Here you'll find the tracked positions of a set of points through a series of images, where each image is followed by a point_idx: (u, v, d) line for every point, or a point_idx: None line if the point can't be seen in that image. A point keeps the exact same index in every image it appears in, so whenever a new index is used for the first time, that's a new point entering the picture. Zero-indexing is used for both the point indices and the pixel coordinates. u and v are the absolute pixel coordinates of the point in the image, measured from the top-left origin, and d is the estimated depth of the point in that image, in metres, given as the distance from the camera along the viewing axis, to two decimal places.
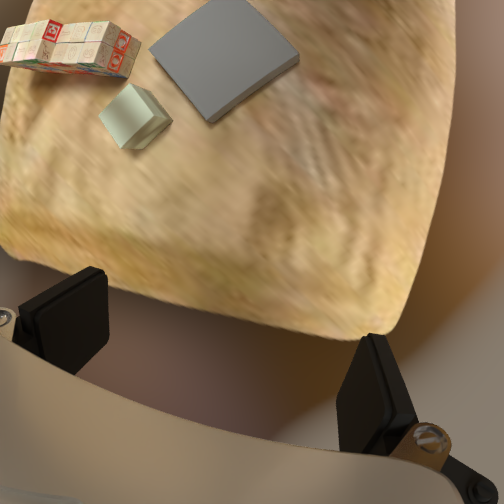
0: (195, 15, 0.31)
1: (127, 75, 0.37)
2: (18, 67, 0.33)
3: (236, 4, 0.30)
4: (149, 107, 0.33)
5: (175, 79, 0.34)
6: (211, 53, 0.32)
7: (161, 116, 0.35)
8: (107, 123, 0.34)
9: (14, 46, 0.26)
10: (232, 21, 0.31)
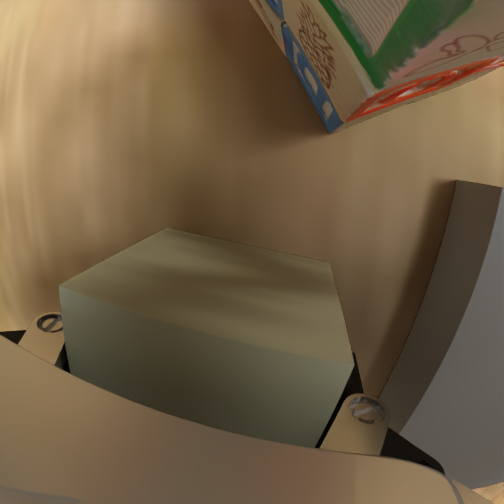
0: None
1: None
2: None
3: None
4: None
5: (429, 394, 0.08)
6: None
7: None
8: (81, 363, 0.06)
9: None
10: None
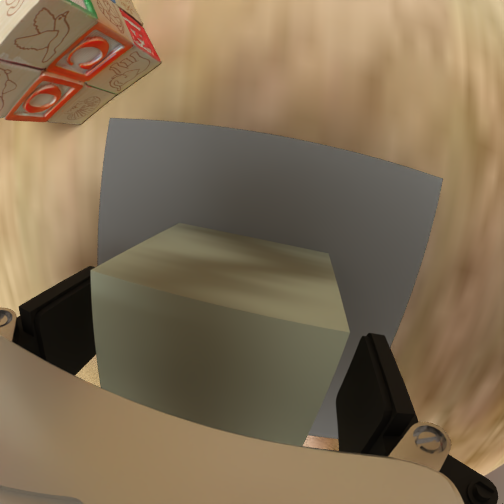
0: (286, 154, 0.11)
1: (79, 121, 0.14)
2: None
3: (396, 248, 0.11)
4: None
5: None
6: None
7: None
8: (107, 342, 0.07)
9: None
10: None
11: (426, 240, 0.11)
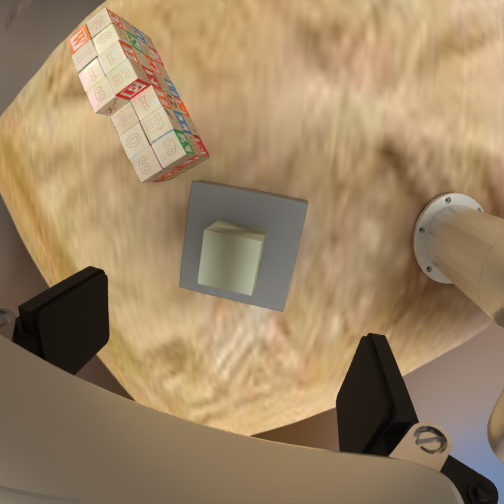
0: (253, 198, 0.36)
1: (172, 178, 0.40)
2: None
3: (291, 227, 0.36)
4: (254, 281, 0.33)
5: (186, 235, 0.39)
6: None
7: (255, 285, 0.35)
8: (205, 248, 0.32)
9: (91, 57, 0.25)
10: (271, 239, 0.37)
11: (302, 224, 0.36)
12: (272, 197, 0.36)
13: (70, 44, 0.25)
